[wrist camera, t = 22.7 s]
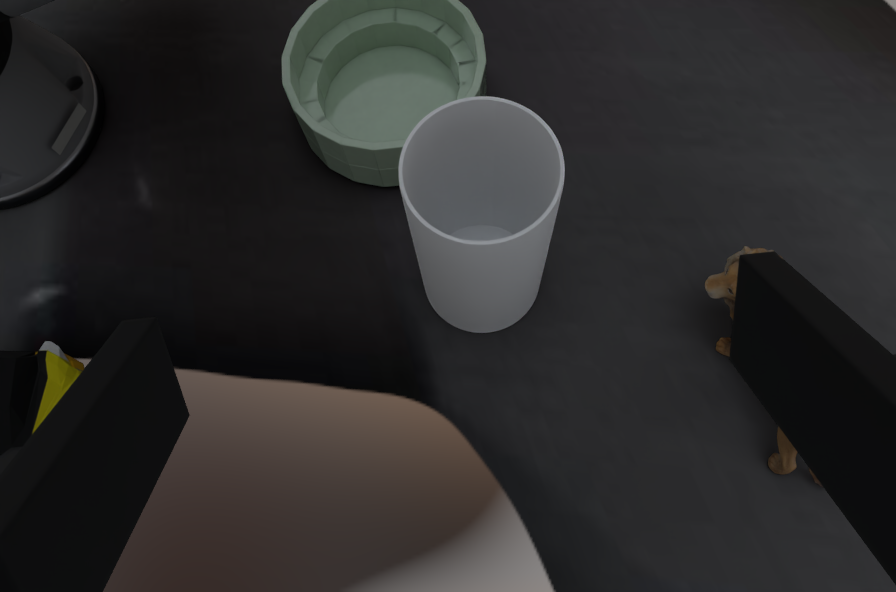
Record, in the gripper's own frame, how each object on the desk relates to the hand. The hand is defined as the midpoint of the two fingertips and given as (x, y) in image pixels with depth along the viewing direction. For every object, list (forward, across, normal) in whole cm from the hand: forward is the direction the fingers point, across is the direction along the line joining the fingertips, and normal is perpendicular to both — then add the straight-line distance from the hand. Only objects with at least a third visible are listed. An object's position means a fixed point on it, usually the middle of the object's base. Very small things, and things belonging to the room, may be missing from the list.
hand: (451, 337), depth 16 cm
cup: (+31, +2, -13) cm, 34 cm away
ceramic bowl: (+41, -3, -3) cm, 41 cm away
